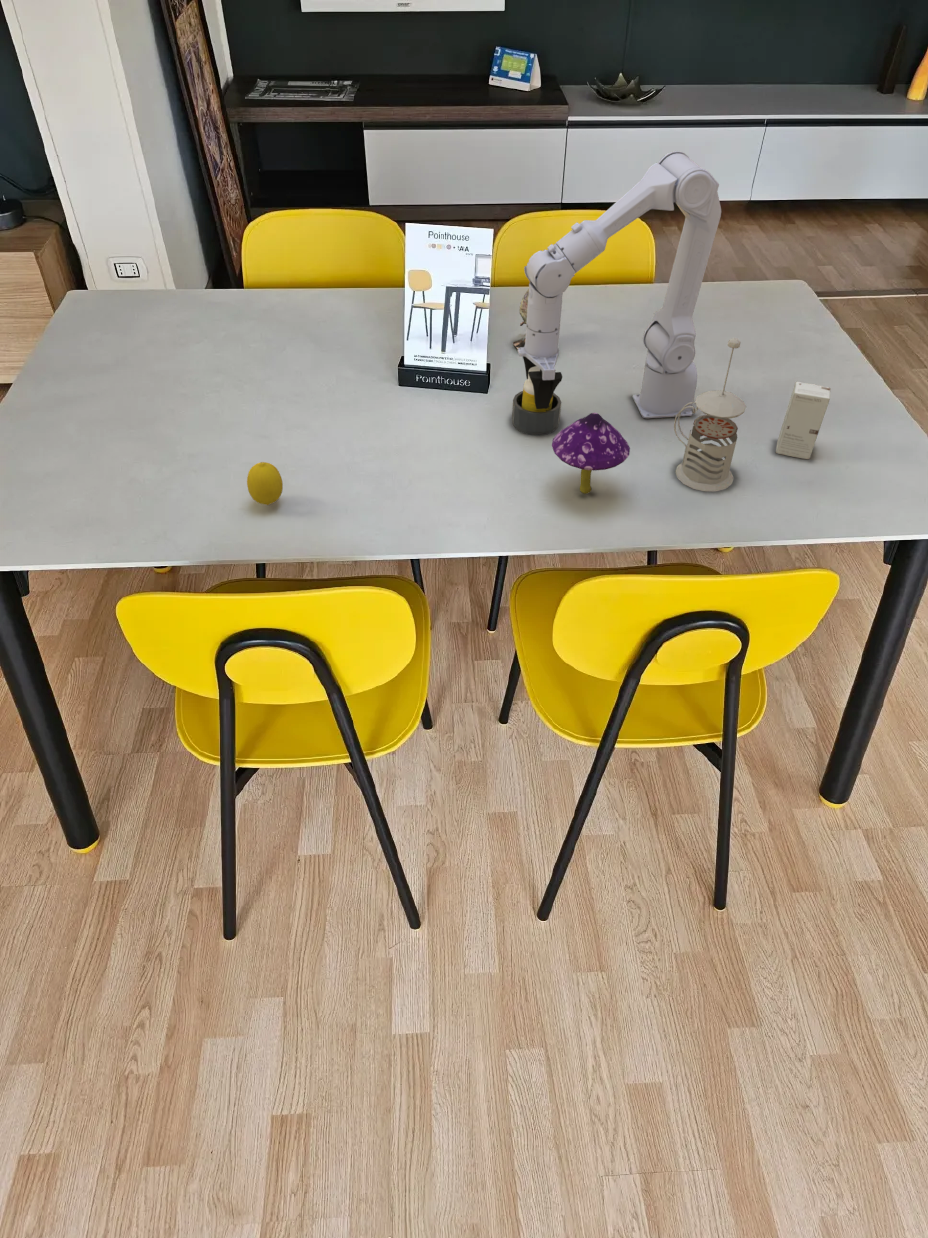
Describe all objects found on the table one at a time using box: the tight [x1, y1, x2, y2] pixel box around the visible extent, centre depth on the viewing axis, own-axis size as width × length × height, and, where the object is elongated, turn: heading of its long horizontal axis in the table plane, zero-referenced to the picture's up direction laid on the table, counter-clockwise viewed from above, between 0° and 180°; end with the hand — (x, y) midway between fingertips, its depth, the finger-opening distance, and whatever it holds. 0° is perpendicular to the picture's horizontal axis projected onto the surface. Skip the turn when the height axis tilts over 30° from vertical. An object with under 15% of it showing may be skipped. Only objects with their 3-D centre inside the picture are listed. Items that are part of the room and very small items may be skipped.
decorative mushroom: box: [551, 412, 631, 495], centre depth 152 cm, size 12×12×15 cm
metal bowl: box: [511, 390, 562, 436], centre depth 171 cm, size 9×9×4 cm
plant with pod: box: [512, 288, 529, 350], centre depth 188 cm, size 8×11×20 cm
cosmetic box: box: [775, 381, 832, 460], centre depth 164 cm, size 6×4×12 cm
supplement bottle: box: [522, 366, 553, 412], centre depth 169 cm, size 5×5×10 cm
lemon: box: [246, 461, 284, 506], centre depth 151 cm, size 6×6×8 cm
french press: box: [673, 337, 747, 492], centre depth 153 cm, size 10×12×25 cm
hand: (537, 396), depth 169 cm, fingers open, 7 cm apart
